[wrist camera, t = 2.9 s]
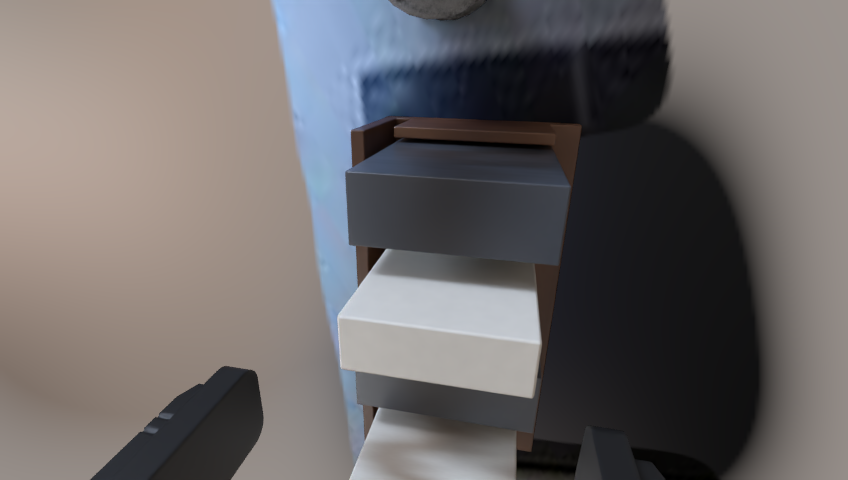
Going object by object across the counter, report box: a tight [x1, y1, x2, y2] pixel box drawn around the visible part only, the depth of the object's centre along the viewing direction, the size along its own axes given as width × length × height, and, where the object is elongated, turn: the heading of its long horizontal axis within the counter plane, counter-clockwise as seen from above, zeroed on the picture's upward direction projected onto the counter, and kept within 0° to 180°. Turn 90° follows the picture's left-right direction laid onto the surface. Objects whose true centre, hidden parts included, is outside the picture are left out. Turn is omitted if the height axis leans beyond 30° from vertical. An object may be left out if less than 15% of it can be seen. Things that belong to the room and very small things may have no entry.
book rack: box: [345, 116, 582, 480], centre depth 20 cm, size 10×22×13 cm, turn 178°
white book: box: [337, 249, 542, 398], centre depth 18 cm, size 6×2×12 cm, turn 89°
